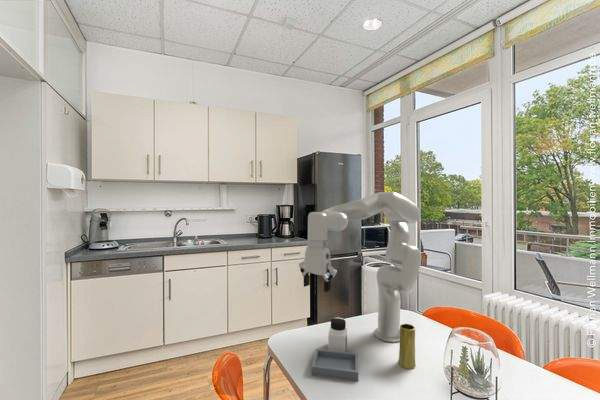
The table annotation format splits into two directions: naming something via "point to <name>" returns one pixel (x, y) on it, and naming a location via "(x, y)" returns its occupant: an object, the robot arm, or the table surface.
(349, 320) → the table surface
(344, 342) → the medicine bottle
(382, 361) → the table surface
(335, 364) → the tray
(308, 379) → the table surface
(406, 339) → the vase
